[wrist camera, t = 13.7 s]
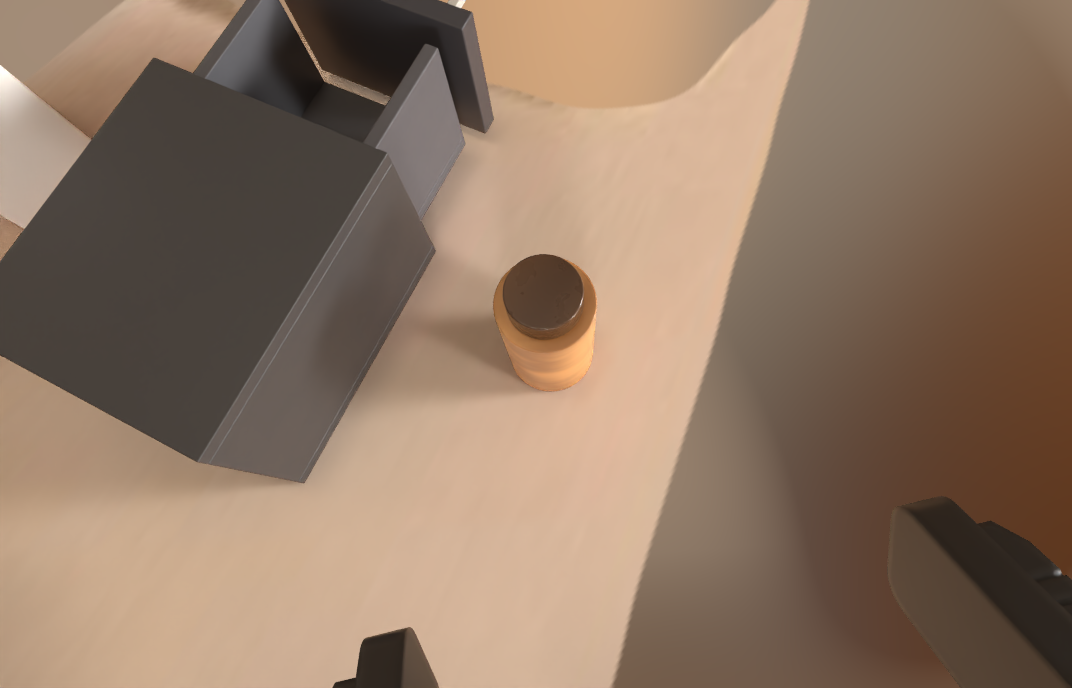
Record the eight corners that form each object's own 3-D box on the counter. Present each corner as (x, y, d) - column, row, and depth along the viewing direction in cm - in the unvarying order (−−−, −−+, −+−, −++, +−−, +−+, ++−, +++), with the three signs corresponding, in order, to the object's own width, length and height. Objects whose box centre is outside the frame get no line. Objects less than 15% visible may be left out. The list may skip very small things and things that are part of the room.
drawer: (369, -1, 44) (321, -127, 36) (530, 57, 42) (518, -63, 34) (211, 235, 40) (114, 154, 31) (382, 314, 38) (326, 249, 29)
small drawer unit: (255, 172, 42) (153, 56, 32) (436, 251, 40) (387, 152, 29) (114, 383, 38) (-51, 327, 28) (304, 483, 36) (197, 462, 26)
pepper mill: (496, 370, 37) (469, 316, 28) (532, 299, 38) (518, 225, 29) (571, 405, 36) (569, 361, 27) (606, 331, 37) (615, 266, 28)
